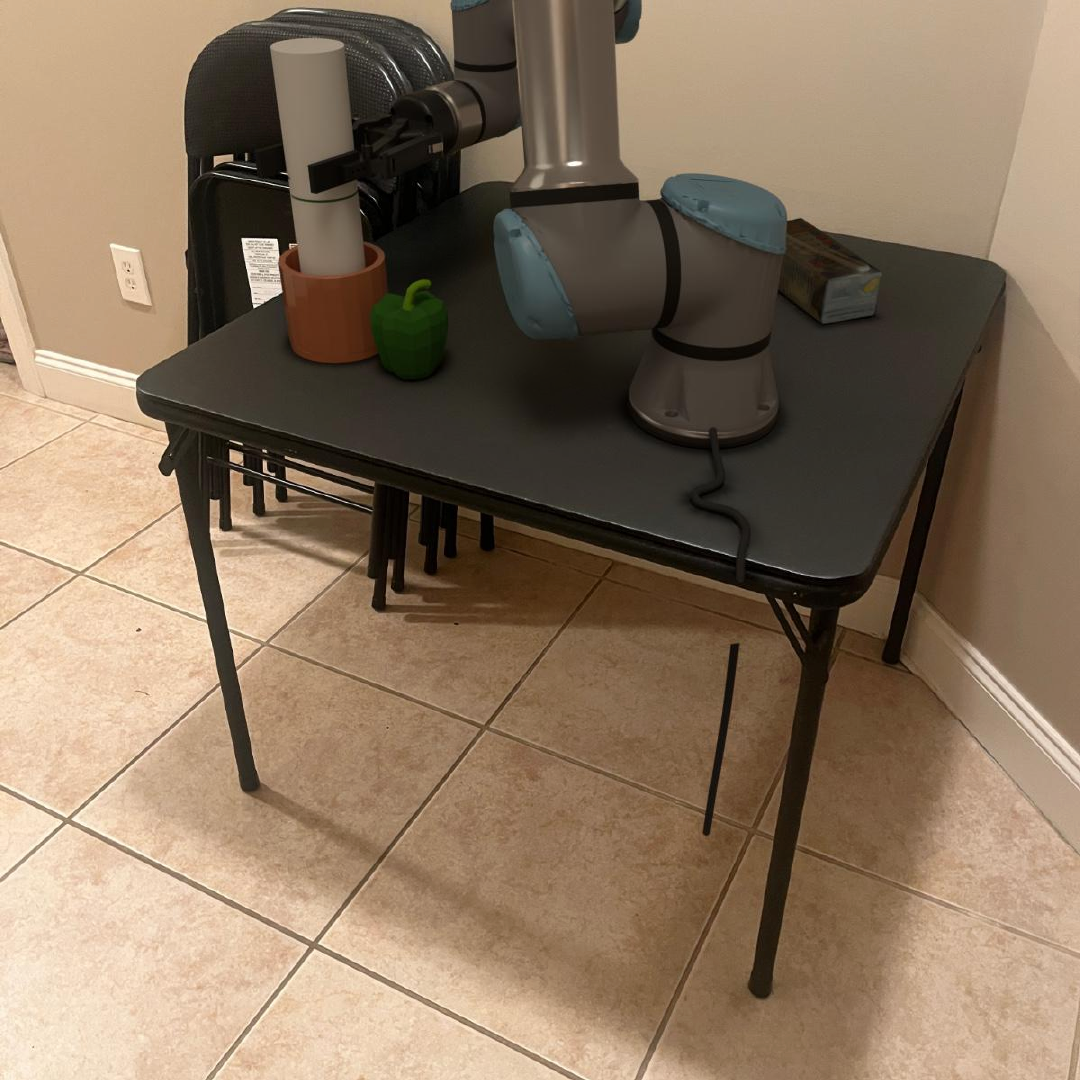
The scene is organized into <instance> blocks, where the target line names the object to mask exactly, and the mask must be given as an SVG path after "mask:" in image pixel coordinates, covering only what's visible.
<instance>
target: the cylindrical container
mask: <svg viewBox="0 0 1080 1080" xmlns="http://www.w3.org/2000/svg"><path fill="white" fill-rule="evenodd" d="M269 49H270V50H269V51H270V57H271V64H272V71H273V78H274V84H275V85H274V87H275V93H276V101H277V108H278V109H277V110H278V116H279V122H280V130H281V137H282V142H283V145H284V152H285V160H286V167H287V171H286V174H287V182H288V188H289V189H288V190H289V196H290V204H291V211H292V217H293V225H294V232H295V240H296V246H297V247H298V255H299V262H300V269H301V273H303V274H308V275H321V276H329V275H342V274H348V273H353V272H356V271H359V270H362V269H365V268H366V266H365V256H364V246H363V241H364V236H363V226H362V216H361V205H360V195H359V194H360V193H359V185H358V184H359V183H358V179H357V180H354V181H352V182H349V183H346V184H343V185H340V186H338V187H335V188H332V189H329V190H326V191H324V192H321V193H318V194H314V193H311V190H310V182H309V174H308V166H307V165H310V164H313V163H316V162H319V161H322V160H325V159H328V158H331V157H334V156H337V155H340V154H344V153H346V152H349V151H352V150H354V142H353V132H352V122H351V114H352V113H351V102H350V92H349V81H348V72H347V71H348V70H347V61H346V50H345V44H344V42H342V41H340V40H337V39H331V38H324V37H323V38H322V37H302V38H301V37H300V38H290V39H284V40H281V41H276V42H274V43H272V44H270V46H269Z"/></svg>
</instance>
